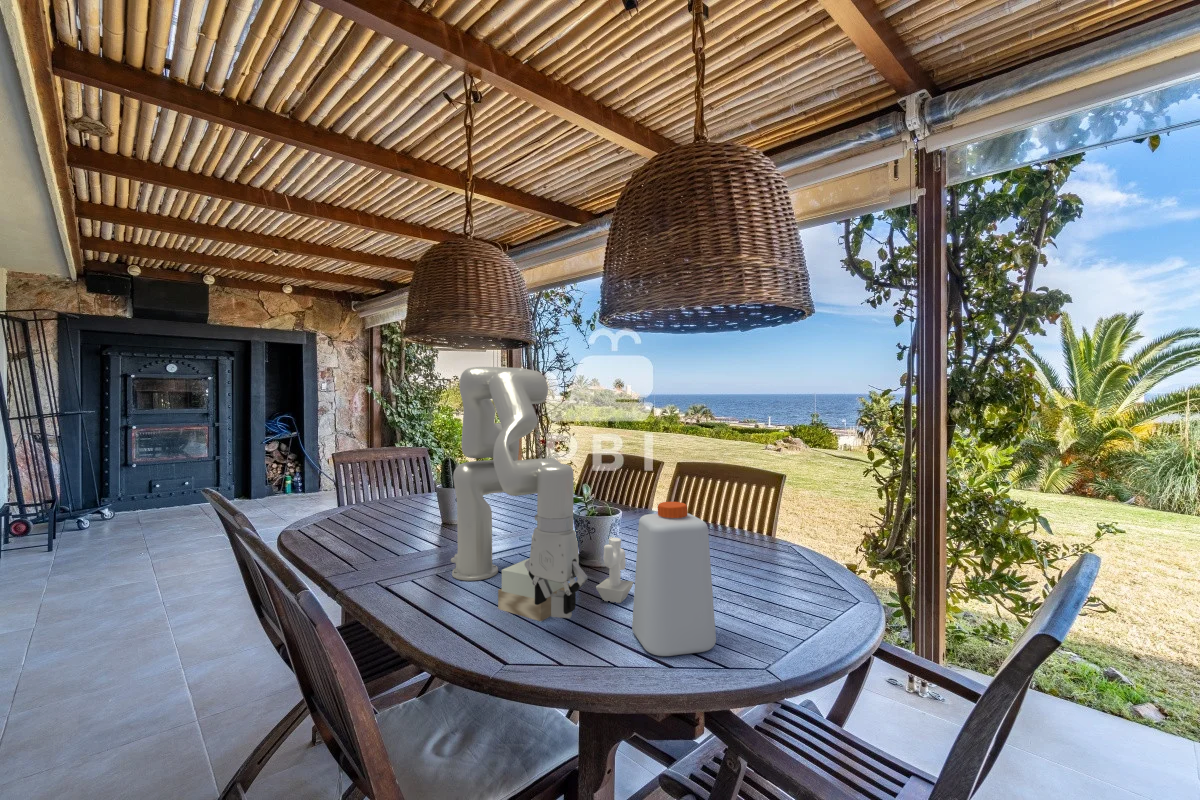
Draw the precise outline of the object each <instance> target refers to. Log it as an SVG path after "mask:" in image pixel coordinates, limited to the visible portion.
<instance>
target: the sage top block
mask: <svg viewBox="0 0 1200 800" xmlns="http://www.w3.org/2000/svg"><path fill="white" fill-rule="evenodd" d="M529 559H530V557H529V558H526V559H524V560H522V561H519V562H517V563H514V564H512V565H510V566H507V567H504V568H503V569H501V589H502V591H503V592H508V593H512V594H516V595H521V596H525V597H529V598H534V599H535V586H534V585H533V584H532V579H531V577H530V576H529V571H527V569H526V567H525V562H526V561H527V560H529ZM547 581H548V583H549V585H550V587H551V589H552V592H555V591H557V590H559V589H561V588H563V587H564V586H563V583H558V582H554V581H550V580H547Z"/></svg>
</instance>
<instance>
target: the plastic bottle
mask: <svg viewBox="0 0 1200 800" xmlns="http://www.w3.org/2000/svg"><path fill="white" fill-rule="evenodd" d="M709 535H710V534H709V527H708V525H707V523H706V522H705V521H704V520H702V519H701V518H699V517H697V516H695V515H693V514H691V513H688V506H687V504H686V503H684V502H680V501H663V502H660V503H659V504H658V505H657V513H648V514H643V515H642V516H641V517H640V518H639V520H638V529H637V545H636V546H637V548H636V560H635V561H636V563H635V575H634V576H635V577H634V578H635V579H634V590H633V592H634V594H633V607H632V621H631V628H632V632H633V634H634V636H635V637H636V638H637V640H638V641H639V643H640V644H641V645H642V647H643V648H644V650H645V651H646V652H647V653H650V654H651V655H655V656H657V657H672V656H680V655H687V654H688V655H689V654H690V655H691V654H696V653H704V652H707V651H710V650H711V649H713V648H714V647H715V645H716V642H717V637H716V635H717V634H716V622H715V621H716V619H715V610H714V608H715V606H714V593H713V581H712V579H713V578H712V565H711V553H710V552H711V551H710V538H709V537H710V536H709Z"/></svg>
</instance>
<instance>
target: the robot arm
mask: <svg viewBox="0 0 1200 800" xmlns="http://www.w3.org/2000/svg"><path fill="white" fill-rule="evenodd" d="M459 393H460V397H461V401H462V406H463V414H462V415H463V416H462V417H463V418H462V429H461V450H462V454H463V455H464V456H465V457H466V458H469V459H487V458H491V459H489V460H488V459H487V460H473V461H471V460H470V461H466V462H463V463H461V464H458V465H457V466H456V468H455V469H454V471H453V475H452V476H453V477H452V479H453V485H454V492H455V496H456V497H455V498H456V515H457V517H456V518H457V521H456V522H457V525H456V526H457V530H456V531H457V553H455V554H454V557H451V559H450V562H451V563H452V564H453V563H454V564H455V568H453V569H452V572H451V576H452V577H453V578H454V579H456V580H459V581H466V582H467V581H469V582H470V581H480V580H481V581H482V580H486V579H489V578H492V577H494V576H497V574H498V572H499V567H498V566H497V565H495V564H493V511H492V507H491V505H490V504H489V503H488V501H487V500H486V499H485V498H484V496H486V495H492V494H500V493H501V494H502V493H505V494H507V495H508V496H512V497H519V496H527V495H528V496H529V495H534V494H537V497H536V498H537V501H536V502H537V503H536V506H537V509H536V510H537V511H536V512H537V514H534V521H536V523H537V524H536V525H537V526H536V527H535V528H534V529H533V532H532V535H533V537H532V536H531V542H530V543H531V544H530V552H529V555H530V556H529V558H530V559H529V560H527V561H526V562H525V567H526V569H527V571H529V576H530V577H531V579H532V584H533V585H534V586H535V604H536V605H539V604H541V603H543V602H545V601H546V600H547V598H545V596H544V594H543V592H542V590H541V587H540V585H539V583H538V579H539V578H543V579H547V580H550V581H554V582H558V583H563V586H564V589H565V592H566V594H565V595H564V606H563V612H564V614H568V613H570V612H572V613H573V611H575V610H576V606H577V604H576V603H577V602H576V599H577V592H578V591H579V590H580V589H581V588H582V587H583V585H584V584H586V582H587V580H589V579H588V575H587V574H586V573H585V571H584V570H583V569H582V568H581V567H580V566H581V565H580V563H579V562H580V559H579V557H580V556H579V554H578V545H577V538H576V533H575V531H574V530H575V529H574V475H575V474H574V469H573V467H572V466H571V465H569V464H566V463H561V462H560V461H559V460H557V459H555V458H551V457H550V458H549V457H547V458H545V457H544V458H532V459H530V458H529V459H519V449H520V439H522V438H524V437H526V436H527V435H529V434H531V432H533V431H534V430H535V428H536V427H537V425H538V416H537V414H536V410H535V408H534V406H533V405H539V404H543V402H545V401H546V399H547V398H548V395H549V394H548V393H549V386H548V382H547V380H546V377H545V376H544V375H543V374H542V373H541V372H539V371H538V370H533V369H527V368H524V367H499V366H474V367H468V368H466V369H464V370H463V372H461V375H460V378H459ZM496 413H497V417H498V419H499V422H500V423H499V422H498V423H495V422H496V421H495V420H496V419H495V418H496ZM492 458H493V459H492ZM576 578H577V580H576ZM569 583H570V584H571V587H570V585H569Z"/></svg>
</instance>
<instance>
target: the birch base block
mask: <svg viewBox="0 0 1200 800" xmlns="http://www.w3.org/2000/svg"><path fill="white" fill-rule="evenodd" d="M569 585H570V587H571V584H570V582H569ZM559 590H565V589H564V587H563V588H561V589H559ZM557 591H558V590H557ZM557 591H555V592H553V594H554V593H555V594H557ZM497 599H498V600H497V601H498V602H497V603H498V604H497V608H498V610H499V611H505V612H507V613H510V614H513V615H517V616H521V617H524V618H528V619H530V620H534V621H538V622H543V621H545V620H546V619H549V618H550V617H551V597H548V598H547V600H546V601H545V602H543V603H541V604H539V605H536V604H535V599H534V598H529V597H525V596H521V595H516V594H512V593H508V592H503V591H502V588H499V589H498V590H497Z"/></svg>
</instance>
